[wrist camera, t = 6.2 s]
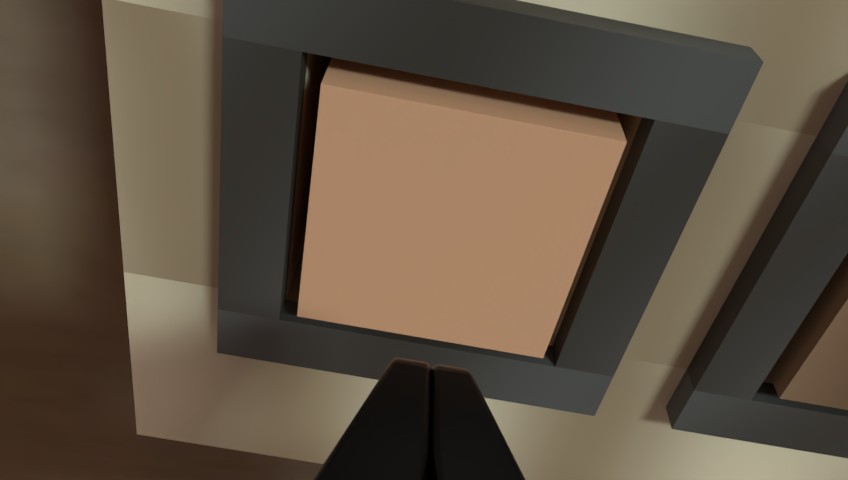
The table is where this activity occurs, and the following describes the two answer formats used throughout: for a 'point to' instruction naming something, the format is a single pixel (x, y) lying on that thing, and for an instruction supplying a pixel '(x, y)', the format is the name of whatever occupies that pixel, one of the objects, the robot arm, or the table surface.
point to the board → (600, 265)
